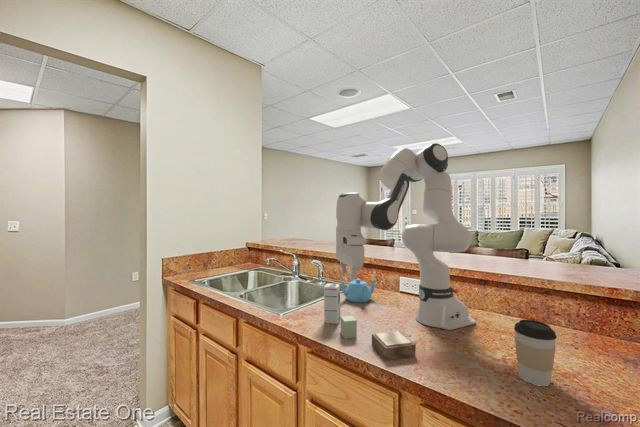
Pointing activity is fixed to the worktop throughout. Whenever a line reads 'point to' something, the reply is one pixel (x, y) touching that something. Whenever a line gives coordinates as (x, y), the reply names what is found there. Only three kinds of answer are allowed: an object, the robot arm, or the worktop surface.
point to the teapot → (358, 291)
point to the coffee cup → (535, 351)
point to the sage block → (348, 327)
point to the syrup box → (332, 303)
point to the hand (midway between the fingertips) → (348, 276)
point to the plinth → (393, 345)
